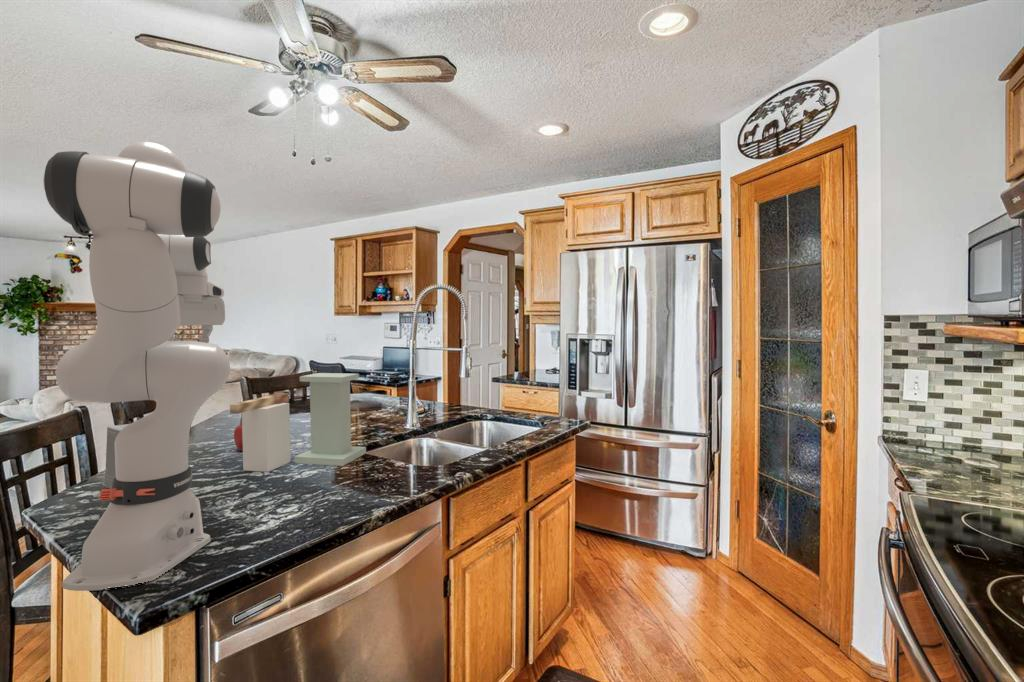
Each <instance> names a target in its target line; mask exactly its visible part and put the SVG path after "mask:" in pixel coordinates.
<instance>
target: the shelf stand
mask: <svg viewBox="0 0 1024 682" xmlns="http://www.w3.org/2000/svg"><path fill="white" fill-rule="evenodd" d="M359 379H360V373H341V372H339V373H337V372H335V373H334V372H333V373H332V372H317V373H312V374H311V373H310V374H305V375H301V376H299V382H304V383H305V382H307V383H308V382H309V402H310V403H309V404H310V405H309V408H310V409H309V411H310V412H309V413H310V415H309V416H310V449H308V450H306V451H304V452H301V453H299V454H297V455H295V456H293V457H294V459H293V460H294V464H300V465H301V464H304V465H305V464H307V465H317V466H318V465H323V466H337V467H338V466H339V467H340V466H341V467H344V466H345V465H348V464H349V463H351V462H352V461H355V460H357V459H358V458H360V457H362V456H363V455H365V454H367V446H354V445H352V435H351V434H352V430H351V429H352V427H351V424H352V422H351V420H352V419H351V418H352V417H351V381H354V380H359Z"/></svg>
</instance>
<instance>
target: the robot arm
mask: <svg viewBox="0 0 1024 682" xmlns="http://www.w3.org/2000/svg"><path fill="white" fill-rule="evenodd" d="M42 181H43V189H44V191H45V192H44V193H45V196H46V199H47V203H48V204H49V206H50V207H51V208H52V209H53V211H54V212H55V213H56V214H57V215H58V216H59V217H60V219H62V220H63V221H64V222H66V223H67V224H69V225H71V226H72V229H73V231H75V233H77V235H80V236H83V237H87V236H89V235H90V232H91V233H92V236H93V237H92V239H91V243H90V246H89V247H90V248H89V257H88V258H89V264H88V267H89V269H88V270H89V271H88V272H89V280H90V286H91V291H92V296H93V300H94V306H95V311H96V319H97V320H96V321H97V322H96V324H97V326H96V329H95V331H94V333H93V334H92V335H91V336H90V337H89V338H88V339H86V340H85V341H83V342H82V343H79V344H77V345H75V346H73V347H71V348H70V349H68V350H67V351H66V352H65V353H64V354H63V355H62V356H61V358H60V359H59V361H58V363H57V364H56V370H55V380H56V382H57V385H58V388H59V389H60V390H61V391H62V393H63V394H64V395H65V396H67V398H69V399H71V400H72V401H76V402H77V401H78V402H85V403H87V402H88V403H99V404H101V403H102V404H109V403H110V404H111V403H113V404H114V403H123V402H124V403H125V402H139V401H140V402H141V401H154V402H155V403H156V405H155V409H154V410H153V411H152V412H151V413H149V414H147V415H146V416H143V417H141V418H139V419H137V420H134V421H133V422H131V423H128V424H129V425H128V426H126V427H124V428H123V429H122V430H121V431H120V432H119V433H118V435H117V436H116V439H115V442H114V444H115V471H116V477H115V478H114V479H113V483H112V486H111V489H109V488H102V489H101V490H100V492H99V496H98V498H99V500H100V501H101V502H103V501H108V502H109V504H108V506H107V508H106V509H105V510H104V512H103V514H102V516H101V517H100V518H99V520H97V523H96V524H95V526H94V527H93V529H92V530H91V532H90V534H89V535H88V536H87V538H86V539H85V540H84V543H83V545H82V548H81V549H82V550H81V562H80V564H79V565H77V566H76V568H74V569H73V570H72V571H71V572H70V574H68V575H67V576H66V577H65V578H64V579H63V580H62V582H61V583H62V584H61V588H62V589H64V590H67V591H74V592H76V591H78V592H88V591H89V592H90V591H102V590H103V589H105V588H108V587H115V586H125V585H133V584H134V585H133V586H136V585H135V584H138V583H142V584H145V583H144V582H146V583H149V582H152V581H156V580H157V579H159V578H160V577H161V576H163V575H164V574H166V573H167V572H169V571H170V570H172V569H173V568H174V567H175V566H177V565H178V564H180V563H182V562H183V561H185V560H186V559H187V558H188V557H190V556H192V555H193V554H195V553H196V552H197V551H199V550H200V549H202V548H203V547H205V546H206V545H207V544H209V543H210V542H212V541H211V535H210V534H208V533H205V532H204V527H203V519H202V512H201V511H202V510H201V502H200V499H199V498H198V497H197V496H196V495H195V494H194V492H193V490H192V489H191V486H192V485H193V480H192V478H193V472H192V467H191V466H189V446H190V445H189V443H190V431H191V426H192V424H193V421H194V418H195V416H196V415H197V412H198V411H199V409H200V408H201V407H202V406H203V405H204V403H206V401H207V400H209V398H211V397H212V396H213V395H215V394H216V393H218V392H219V391H220V390H221V389H222V388H223V387H224V386H225V384H226V383H227V381H228V379H229V376H230V372H231V364H230V363H231V362H230V359H229V357H228V355H227V353H226V352H225V350H224V349H223V348H222V347H220V346H219V345H218V344H215V343H210V337H211V333H212V332H213V330H214V328H213V327H214V326H222V325H224V323H225V322H226V309H225V308H226V307H225V301H224V299H223V298H224V296H225V290H224V288H221V287H219V286H217V285H215V284H213V283H212V282H210V281H209V280H208V273H207V270H206V268H207V267H209V266H210V265H211V264H212V260H211V258H212V257H211V255H212V254H211V242H210V241H209V240H208V239H207V238H206V237H207V236H209V234H211V233H212V232H213V231H214V230H215V226H216V225H217V223H218V221H219V219H220V216H221V201H220V198H219V195H218V192H217V189H216V186H215V185H214V184H213V183H212V182H211V181H210V179H208V178H207V177H206V176H203V175H200V174H198V173H195V172H193V171H189V170H187V169H186V167H185V165H184V164H183V162H182V160H181V159H180V158H179V156H177V154H176V153H175V152H174V151H172V150H171V149H170V148H168V147H166V146H165V145H162V144H160V143H157V142H152V141H138V142H137V141H136V142H134V143H131V144H128V145H126V146H125V147H123V149H121V151H120V152H119V153H118V156H114V155H105V154H104V155H101V154H90V153H89V152H87V151H80V150H79V151H78V150H77V151H75V150H73V151H71V150H70V151H59V152H56V153H55V154H54V155H52V156H51V157H50V158H49V159H48V161H47V163H46V166H45V169H44V174H43V180H42ZM222 297H223V298H222ZM180 326H201V330H203V331H202V333H201V335H199V336H198V341H195V340H178V339H179V338H178V337H176V336H175V335H174V334H175V333H176V332H177V330H178V329H179V327H180ZM168 570H169V571H168ZM165 572H166V573H165ZM162 574H163V575H162ZM159 576H160V577H159ZM156 578H157V579H156ZM148 581H149V582H148ZM138 585H139V584H138ZM105 590H106V589H105ZM103 591H104V590H103Z"/></svg>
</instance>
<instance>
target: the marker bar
mask: <svg viewBox="0 0 1024 682" xmlns="http://www.w3.org/2000/svg"><path fill="white" fill-rule="evenodd" d="M289 396H290V395H289V393H280V392H278V393H272V394H268V395H266V396H262V397H257V398H253V399H249V400H244V401H243V400H242V401H239V402H236V403H231V404H229V413H230V414H234V415H235V414H237V415H238V414H242V413H243V412H247V411H251V410H255V409H258V408H262V407H266V406H270V405H274V404H281V403H290V402H289V401H290V397H289Z"/></svg>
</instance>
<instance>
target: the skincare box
mask: <svg viewBox="0 0 1024 682" xmlns="http://www.w3.org/2000/svg"><path fill="white" fill-rule="evenodd" d="M129 424H130V423H127V424H118V425H115V424H114V425H109V426H107V427H106V429H107V430H106V451H105V474H104V475H105V476H104V488H105V489H111V486H112V483H113V479H114V478H115V477H116V471H115V444H114V442H115V439H116V436H117V435H118V433H119V432H120V431H121V430H122V429H123V428H124V427H126V426H128V425H129Z"/></svg>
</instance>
